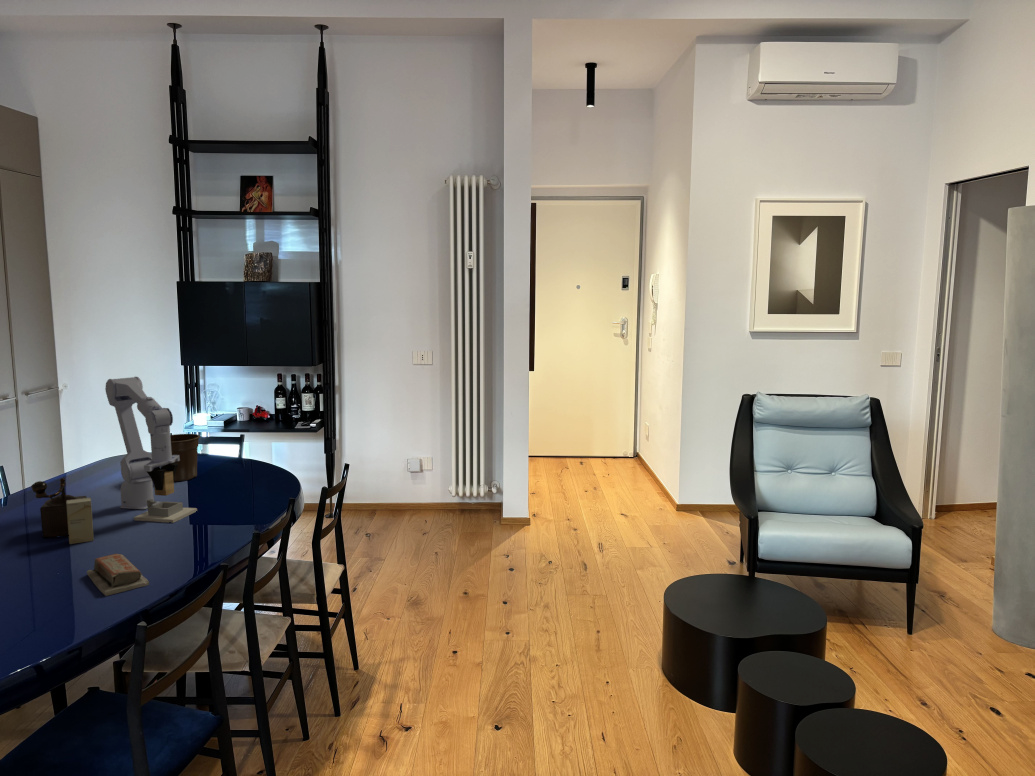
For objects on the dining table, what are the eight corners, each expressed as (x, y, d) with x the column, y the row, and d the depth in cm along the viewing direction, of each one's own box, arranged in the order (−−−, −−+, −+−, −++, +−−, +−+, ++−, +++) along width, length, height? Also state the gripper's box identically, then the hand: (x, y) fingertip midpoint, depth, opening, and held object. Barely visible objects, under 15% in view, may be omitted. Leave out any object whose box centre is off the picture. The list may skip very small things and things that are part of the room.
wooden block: (154, 495, 227) (153, 473, 226) (163, 491, 231) (161, 470, 230) (166, 495, 227) (164, 474, 226) (174, 492, 231) (172, 471, 230)
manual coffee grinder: (48, 528, 218) (43, 471, 216) (89, 524, 222) (84, 468, 220) (34, 544, 204) (28, 484, 201) (78, 540, 208) (73, 480, 205)
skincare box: (69, 544, 204) (65, 503, 202) (69, 540, 208) (65, 500, 206) (94, 540, 207) (91, 500, 205) (94, 536, 211) (90, 496, 209)
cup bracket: (133, 520, 225) (132, 505, 225) (159, 508, 237) (158, 494, 236) (173, 522, 223) (172, 507, 222) (197, 511, 235) (196, 496, 234)
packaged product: (84, 558, 182) (127, 549, 188) (86, 576, 182) (128, 566, 189) (103, 578, 169) (148, 567, 175) (105, 598, 169) (150, 586, 176)
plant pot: (149, 478, 276) (146, 437, 274) (191, 470, 288) (188, 431, 286) (167, 485, 265) (164, 443, 263) (209, 477, 277) (207, 436, 275)
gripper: (157, 452, 219) (160, 494, 221) (186, 442, 233) (189, 482, 235) (136, 451, 220) (140, 493, 222) (167, 441, 235) (170, 481, 236)
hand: (164, 487), depth 229 cm, fingers closed on wooden block, 4 cm apart
